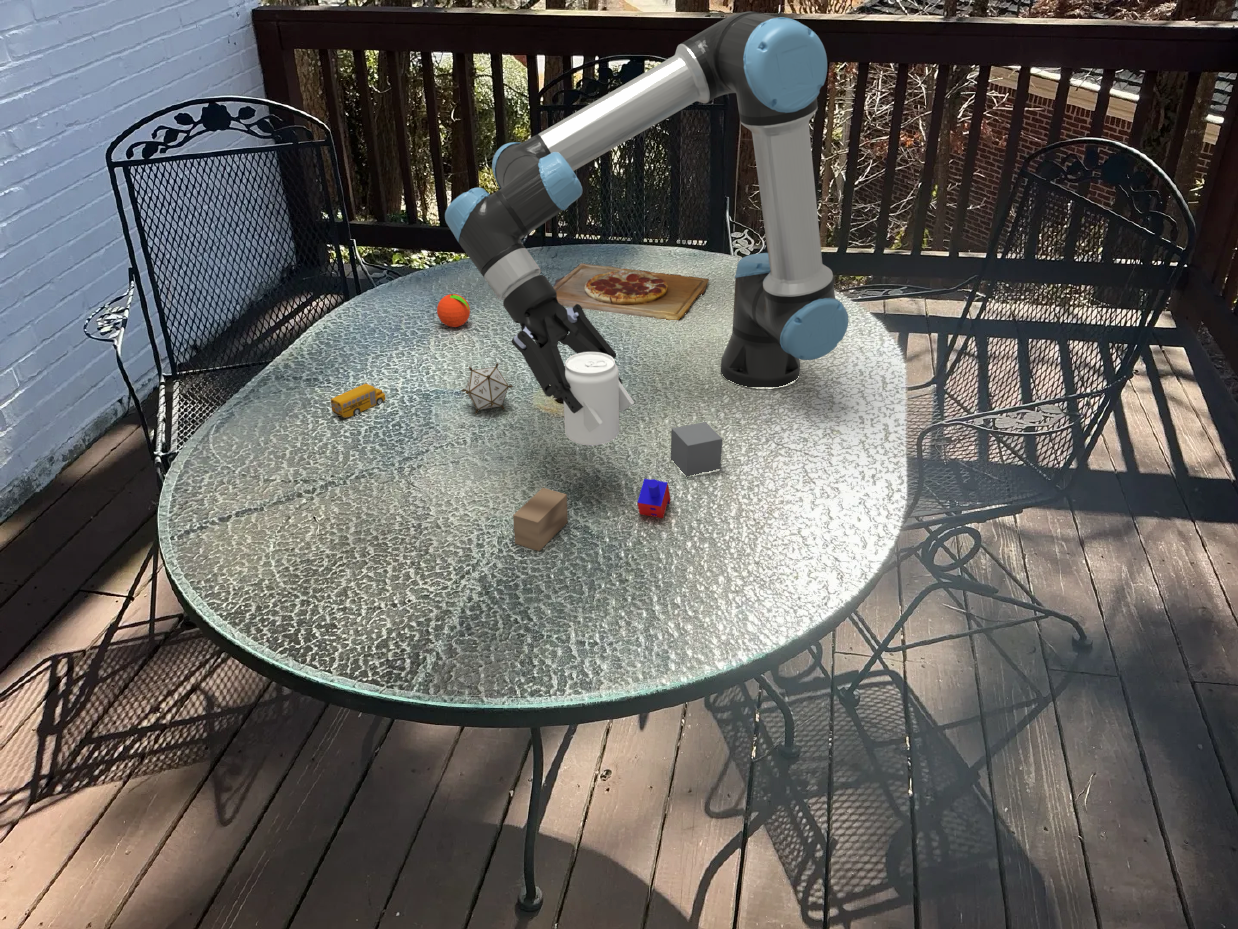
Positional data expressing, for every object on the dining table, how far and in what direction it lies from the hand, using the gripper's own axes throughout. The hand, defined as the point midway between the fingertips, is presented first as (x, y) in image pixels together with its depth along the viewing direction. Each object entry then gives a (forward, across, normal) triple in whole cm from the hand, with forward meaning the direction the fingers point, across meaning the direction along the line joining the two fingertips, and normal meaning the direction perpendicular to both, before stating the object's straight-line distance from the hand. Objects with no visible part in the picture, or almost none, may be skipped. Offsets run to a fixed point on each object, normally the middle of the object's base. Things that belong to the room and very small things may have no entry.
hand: (612, 416), depth 137 cm
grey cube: (+14, -15, -6) cm, 21 cm away
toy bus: (-28, +5, -47) cm, 55 cm away
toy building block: (+15, 0, -4) cm, 16 cm away
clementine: (-38, -32, -57) cm, 75 cm away
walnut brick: (+8, +14, -11) cm, 20 cm away
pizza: (-25, -70, -46) cm, 88 cm away
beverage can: (+1, 0, -5) cm, 5 cm away
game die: (-15, -9, -34) cm, 39 cm away
